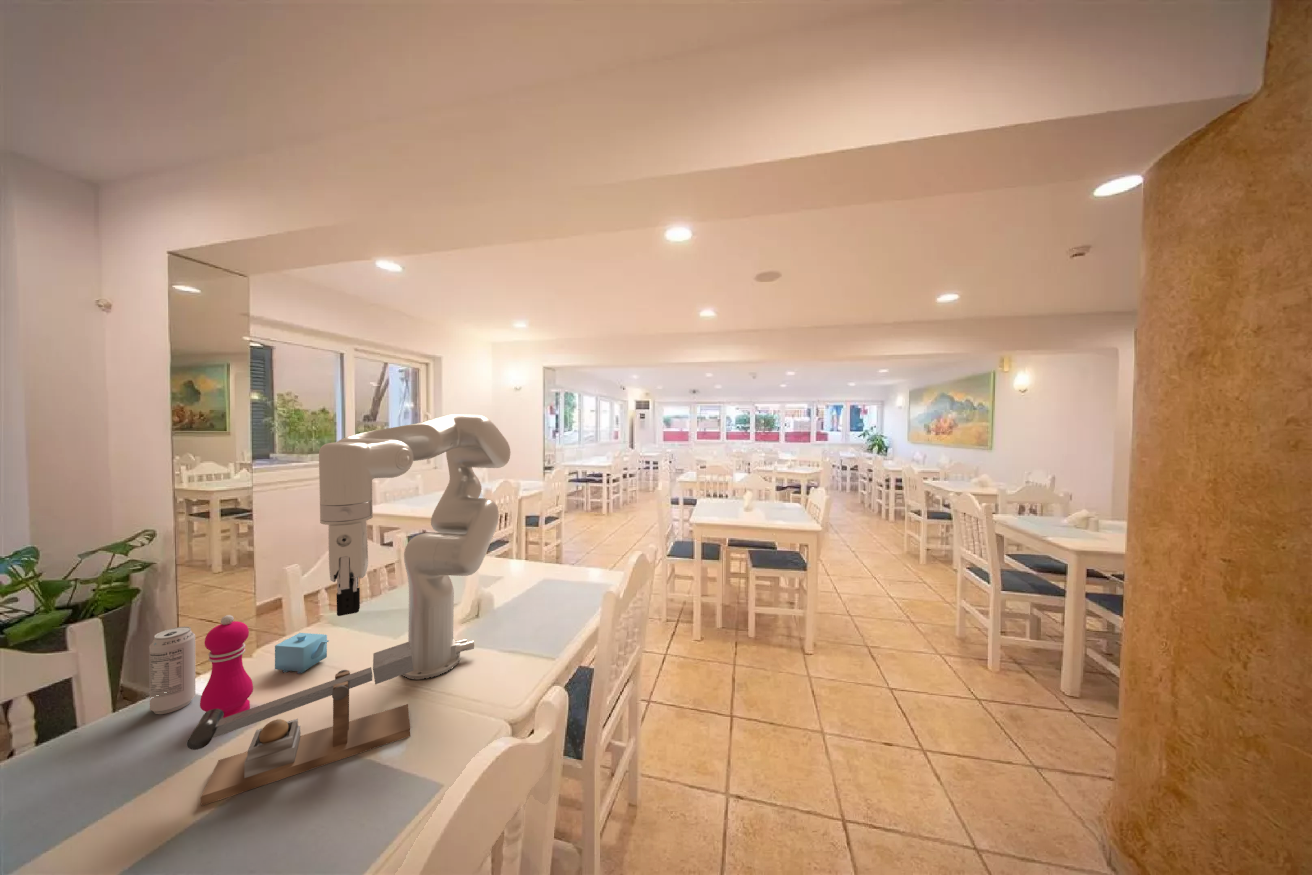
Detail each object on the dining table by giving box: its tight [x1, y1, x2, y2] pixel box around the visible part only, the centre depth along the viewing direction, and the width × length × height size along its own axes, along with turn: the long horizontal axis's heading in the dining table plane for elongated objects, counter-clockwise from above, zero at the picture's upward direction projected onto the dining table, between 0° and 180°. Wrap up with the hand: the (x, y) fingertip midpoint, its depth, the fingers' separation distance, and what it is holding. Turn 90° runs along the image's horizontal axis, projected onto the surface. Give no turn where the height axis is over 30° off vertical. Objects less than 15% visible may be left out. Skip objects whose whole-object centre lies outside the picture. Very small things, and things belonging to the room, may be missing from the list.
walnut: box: [259, 718, 288, 744], centre depth 70 cm, size 4×4×4 cm
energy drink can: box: [148, 626, 196, 715], centre depth 84 cm, size 6×6×15 cm
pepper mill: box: [199, 614, 254, 718], centre depth 81 cm, size 7×7×20 cm
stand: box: [200, 669, 411, 807], centre depth 73 cm, size 27×8×12 cm, turn 123°
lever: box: [186, 641, 414, 751], centre depth 73 cm, size 29×6×3 cm, turn 123°
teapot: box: [274, 632, 330, 675], centre depth 98 cm, size 12×6×8 cm, turn 85°
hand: (348, 612), depth 75 cm, fingers closed
